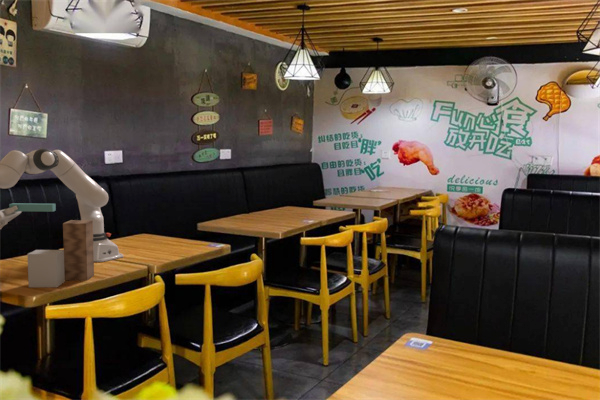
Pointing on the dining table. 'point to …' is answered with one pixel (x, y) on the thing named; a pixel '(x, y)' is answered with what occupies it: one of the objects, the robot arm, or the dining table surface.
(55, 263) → the grey block
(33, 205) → the rail
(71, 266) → the stand
